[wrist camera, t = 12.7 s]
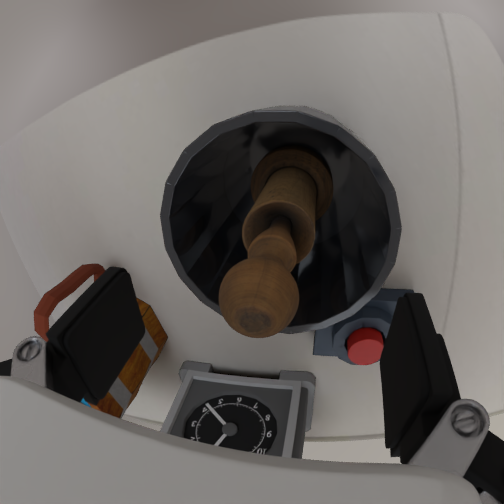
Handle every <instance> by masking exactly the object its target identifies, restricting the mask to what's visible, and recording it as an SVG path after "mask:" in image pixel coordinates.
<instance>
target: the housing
mask: <svg viewBox="0 0 504 504" xmlns="http://www.w3.org/2000/svg"><path fill="white" fill-rule="evenodd" d="M405 293H414V291H413V290H403V289H383V288H381V289H380V291H379V292H378V294H377V295H376V296H374V297H373V298H372V299H371V300H370V301H369V302H368V303H367V304H365V305H364V306H363V307H362V308H361V309H360V310H359V311H357V312H356V313H355V314H354V315H353V316H351V317H348V318H346V319H344V320H342V321H340V322H338V323H335V324H333V325H331V326H329V327H327V328H323V329H319V330H315V337H314V348H313V355H321V356H338V358H339V359H341V360H343V361H345V362H347V363H349V364H352V365H358V364H355V363H353V362H352V361H351V360H350V359H349V357H348V346H347V341H348V338H349V336H350V335H351V334H352V333H353V332H354V331H356V330H358V329H360V328H365V327H369V328H374V329H376V330H378V331H379V332H380V333H381V335H382V338H383V344H385V341H386V338H387V334H388V331H389V328H390V325H391V321H392V318H393V314H394V311H395V307H396V304H397V300H398V298H399V297H403V296H404V294H405ZM378 361H380V359H379V360H378ZM378 361H376V362H378Z"/></svg>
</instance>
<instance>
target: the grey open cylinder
mask: <svg viewBox="0 0 504 504" xmlns="http://www.w3.org/2000/svg"><path fill="white" fill-rule="evenodd" d="M287 145H296V146H302V147H305V148H308V149H310V150H312V151H313V152H315V153H316V154H318V155H319V156H320V157H321V158H322V159H323V160H324V161H325V162H326V164H327V165H328V167H329V169H330V171H331V174H332V179H333V197H332V201H331V204H330V206H329V208H328V209H327V211H326V212H325V213H324V214H323V215H322V216H321V217H320V218H319V219H317V220H316V221H315V240H314V244H313V247H312V249H311V251H310V253H309V254H308V255H307V256H306V258H304V259H303V260H302V261H301V262H299V263H297V264H295V267H294V269H293V270H292V271H291V272H290V273H291V275H292V276H293V278H294V280H295V282H296V284H297V287H298V291H299V304H298V309H297V312H296V314H295V316H294V318H293V320H292V321H291V322H290V323H289V325H288V326H287V327H286V328H284V329H283V330H282V331H280V332H279V333H287V334H291V333H292V334H294V333H300V332H307V331H313V330H319V329H323V328H327V327H329V326H331V325H333V324H335V323H338V322H340V321H342V320H344V319H346V318H348V317H351V316H353V315H354V314H355V313H356V312H357V311H359V310H360V309H361V308H362V307H363V306H364V305H365V304H367V303H368V302H369V301H370V300H371V299H372V298H373V297H374V296H376V295H377V294H378V292H379V291H380V289H381V287H382V286H383V284H384V282H385V280H386V279H387V277H388V275H389V273H390V272H391V270H392V268H393V266H394V265H395V262H396V257H397V252H398V247H399V241H400V236H401V230H402V228H401V227H402V226H401V219H400V213H399V208H398V202H397V197H396V191H395V189H394V187H393V185H392V183H391V181H390V180H389V178H388V176H387V175H386V173H385V171H384V169H383V168H382V166H381V164H380V163H379V161H378V159H377V158H376V156H375V155H374V154H373V152H372V151H371V150H370V149H369V148H368V147H367V146H366V145H365V144H364V143H363V142H362V141H361V140H360V139H359V138H358V137H357V136H355V135H354V134H353V133H352V132H351V131H350V130H349V129H348V128H347V127H345V126H344V125H343V124H342V123H340V122H339V121H338V120H336V119H335V118H334V117H333V116H331V115H329V114H327V113H324V112H321V111H319V110H316V109H313V108H310V107H307V106H306V107H305V106H275V107H269V108H264V109H259V110H253V111H250V112H247V113H244V114H241V115H238V116H236V117H233V118H230V119H227V120H225V121H222V122H219V123H217V124H214V125H213V126H211V127H210V128H209V129H208V130H206V131H205V132H204V133H203V134H202V135H200V136H199V137H198V138H197V139H196V140H195V141H193V142H192V143H191V144H190V145H189V146H188V147H186V148H185V149H184V151H183V152H182V154H181V155H180V157H179V159H178V161H177V162H176V164H175V166H174V168H173V170H172V171H171V173H170V175H169V177H168V179H167V180H166V184H165V189H164V195H163V201H162V207H161V213H160V215H161V216H160V218H161V225H162V231H163V238H164V244H165V248H166V251H167V253H168V255H169V257H170V259H171V261H172V263H173V266H174V268H175V270H176V272H177V274H178V276H179V277H180V279H181V280H182V281H183V282H184V283H185V284H186V285H187V287H188V288H189V289H190V290H191V291H192V292H193V293H194V294H195V296H196V297H197V298H198V299H199V300H200V301H202V303H204V304H205V305H207V306H208V307H210V308H211V309H213V310H214V311H216V312H217V313H219V314H220V315H222V313H221V310H220V306H219V290H220V286H221V283H222V280H223V278H224V277H225V275H226V274H227V272H228V271H229V270H230V269H231V268H232V267H233V266H234V265H236V264H237V263H239V262H241V261H243V260H246V259H248V251H247V250H246V248H245V246H244V243H243V239H242V228H243V224H244V221H245V219H246V217H247V215H248V213H249V212H250V210H251V209H252V207H253V205H254V204H255V203H254V200H253V197H252V194H251V178H252V175H253V172H254V170H255V168H256V166H257V165H258V163H259V162H260V161H261V160H262V158H263V157H264V156H265V155H266V154H268V153H269V152H270V151H272V150H274V149H276V148H279V147H282V146H287ZM222 316H223V315H222Z"/></svg>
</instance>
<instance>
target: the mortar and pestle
mask: <svg viewBox="0 0 504 504" xmlns="http://www.w3.org/2000/svg"><path fill="white" fill-rule="evenodd" d="M251 194H252V197H253V200H254V203H255V204H254V205H253V207H252V209H251V210H250V212H249V213H248V215H247V217H246V219H245V221H244V224H243V228H242V239H243V243H244V246H245V248H246V250H247V251H248V259H246V260H243V261H241V262H239V263H237V264H236V265H234V266H233V267H232V268H231V269H230V270H229V271H228V272H227V274H226V275H225V277H224V278H223V280H222V283H221V286H220V290H219V306H220V310H221V313H222V315H223V317H224V319H225V320H226V322H227V323H228V324H229V326H230V327H231V328H233V329H234V330H235V331H237V332H238V333H240V334H242V335H245V336H248V337H252V338H264V337H269V336H272V335H275V334H277V333H279V332H280V331H282V330H283V329H284V328H286V327H287V326H288V325H289V323H290V322H291V321H292V320H293V318H294V316H295V314H296V312H297V309H298V304H299V291H298V287H297V284H296V282H295V280H294V278H293V276H292V275H291V273H290V272H291V271H292V270H293V269H294V267H295V264H297V263H299V262H301V261H302V260H303V259H304V258H306V256H307V255H308V254H309V253H310V251H311V249H312V247H313V244H314V240H315V221H316V220H317V219H319V218H320V217H321V216H322V215H323V214H324V213H325V212H326V211H327V209H328V208H329V206H330V204H331V201H332V197H333V179H332V174H331V171H330V169H329V167H328V165H327V164H326V162H325V161H324V160H323V159H322V158H321V157H320V156H319V155H318V154H316V153H315V152H313V151H312V150H310V149H308V148H305V147H302V146H296V145H287V146H282V147H279V148H276V149H274V150H272V151H270V152H269V153H268V154H266V155H265V156H264V157H263V158H262V160H261V161H260V162H259V163H258V165H257V166H256V168H255V170H254V172H253V175H252V178H251Z"/></svg>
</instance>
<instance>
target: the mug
mask: <svg viewBox="0 0 504 504" xmlns="http://www.w3.org/2000/svg"><path fill="white" fill-rule="evenodd" d="M104 272H105V270H104V268H103V266H101V265H99V264H86V265H82V266H80V267H79V268H78V269H76V270H75V271H74V272H72V273H71V274H70V275H69V276H68V277H67V278H65V279H64V280H63V281H62V282H61V283H59V284H58V285H57V286H55V287H54V288H52V289H51V290H50V291H48V292H47V293H45V294H44V296H43V297H42V299H41V301H40V302H39V304H38V306H37V307H36V309H35V311H34V323H35V324H34V325H35V331H36V332H37V333H38V334H39V335H40V336H41V337H42V338H43V339H44V340H45V342H47V341H48V338H47V336H46V334H45V333H46V332H47V331H48V330H49V316H50V315H51V313H52V311H53V310H54V308H55V307H56V306H57V304H58V303H59V302H60V301H62V300H63V299H64V298H66V297H67V296H69V295H70V294H72V293H73V292H74V291H75V290H76V289H77V288H78V287H79V286H80V285H82V284H83V283H84V282H85V281H86V280H87V279H88V278H89V277H90V276H92V275H94V282H95V281H96V280H97V279H98V278H99V277H100V276H101V275H102V274H103V273H104ZM137 302H138V305H139V309H140V312H141V315H142V319H143V322H144V325H145V335H144V337H143V338H142V340H141V341H140V343H139V344H138V346H137V347H136V349H135V351H134V352H133V354H132V355H131V357H130V358H129V360H128V361H127V363H126V364H125V366H124V368H123V369H122V371H121V372H120V374H119V375H118V377H117V379H116V380H115V382H114V383H113V385H112V386H111V388H110V390H109V391H108V393H107V394H106V396H105V397H104V398H103V399H100V401H99V403H98V404H97V406H96V405H93V404H91V403H88V402H86V401H85V400H84V398H83V399H82V401H81V403H82V404H84V405H86V406H89V407H91V408H94V409H96V410H99V411H101V412H104V413H106V414H109V415H112V416H114V417H117V418H120V419H121V418H122V416H123V415H124V413H125V411H126V409H127V408H128V407H129V405H130V404H131V402H132V401H133V400H134V398H135V397H136V395H137V393H138V391H139V388H140V386H141V384H142V382H143V379H144V378H145V376H146V374H147V372H148V371H149V369H150V367H151V366H152V365H153V363H154V362H155V361H156V360H157V358H158V357H159V355H160V353H161V351H162V349H163V346H164V344H165V342H166V340H167V338H168V336H167V335H166V333H165V331H164V330H163V328H162V326H161V324H160V323H159V321H158V319H157V317H156V315H155V314H154V312H153V310H152V308H151V306H150V305H148V304H146V303H145V302H143V301H141V300H140V299H138V298H137Z"/></svg>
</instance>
